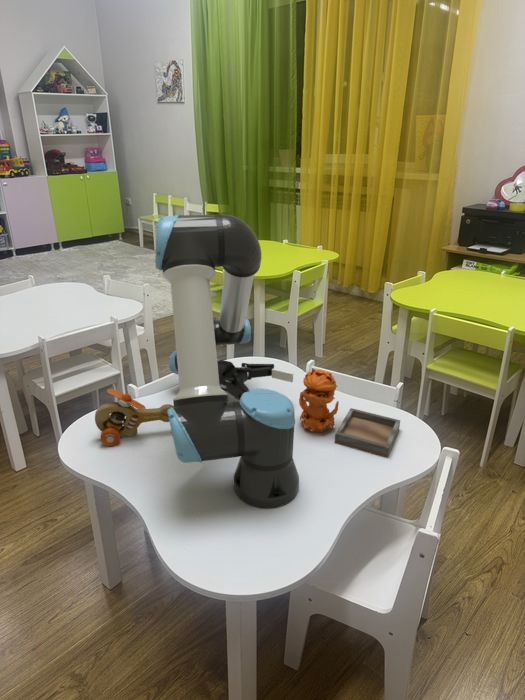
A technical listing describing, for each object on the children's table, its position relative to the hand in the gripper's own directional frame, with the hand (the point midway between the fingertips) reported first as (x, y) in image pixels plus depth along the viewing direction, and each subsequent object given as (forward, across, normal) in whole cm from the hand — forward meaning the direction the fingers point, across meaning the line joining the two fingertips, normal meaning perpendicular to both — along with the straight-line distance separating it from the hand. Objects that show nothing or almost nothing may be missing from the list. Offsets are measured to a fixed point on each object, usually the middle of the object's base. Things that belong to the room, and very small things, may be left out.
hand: (283, 388), depth 133 cm
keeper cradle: (+24, -2, -10) cm, 26 cm away
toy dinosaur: (+10, 0, -10) cm, 14 cm away
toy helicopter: (-32, +26, -10) cm, 42 cm away
